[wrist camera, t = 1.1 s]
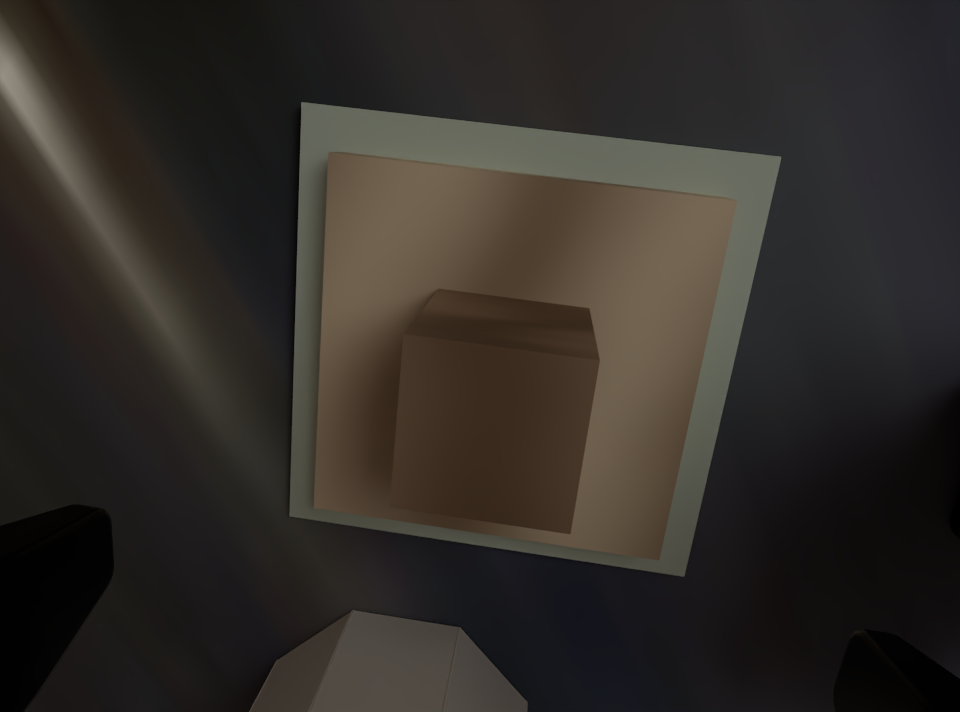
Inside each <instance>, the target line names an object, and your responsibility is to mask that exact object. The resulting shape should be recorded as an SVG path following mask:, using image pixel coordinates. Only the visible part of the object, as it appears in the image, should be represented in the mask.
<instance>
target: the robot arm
mask: <svg viewBox="0 0 960 712" xmlns="http://www.w3.org/2000/svg"><path fill="white" fill-rule="evenodd" d="M950 527H951V530H952V532H953V533H954V534H955V535H956V536H957V537H958V538H959V539H960V493H959V496H958V499H957V501H956V504H955V507H954V510H953V513H952V515H951V518H950ZM113 570H114V556H113V540H112V523H111V517H110V515H109V513H108V512H107V511H106V510H104V509H102V508H96V507H90V506H84V505H78V504H77V505H69V506H65V507H62V508H59V509H55V510H52V511H49V512H45V513H42V514H39V515H35V516H32V517H29V518H25V519H22V520H19V521H15V522H12V523H9V524H5V525H2V526H0V712H25V710H26V709H27V708H28V706H29V705H30V704H31V702H32V701H33V700H34V698H35V697H36V696H37V694H38V693H39V691H40V690H41V688H42V687H43V686H44V684H45V683H46V681H47V680H48V678H49V677H50V675H51V674H52V672H53V671H54V669H55V668H56V666H57V665H58V663H59V661H60V660H61V658H62V657H63V655H64V654H65V652H66V651H67V649H68V648H69V646H70V645H71V643H72V641H73V640H74V638H75V637H76V635H77V634H78V632H79V631H80V629H81V628H82V626H83V625H84V623H85V621H86V620H87V618H88V617H89V615H90V614H91V612H92V611H93V609H94V608H95V606H96V605H97V603H98V601H99V600H100V598H101V597H102V595H103V594H104V592H105V591H106V589H107V587H108V586H109V583H110V581H111V579H112V575H113ZM834 707H835V711H836V712H960V679H959V678H958V677H956V676H955V675H953V674H952V673H950V672H949V671H947V670H946V669H945V668H943V667H942V666H940V665H939V664H937V663H936V662H934V661H933V660H932V659H930V658H929V657H927V656H926V655H924V654H923V653H922V652H920V651H919V650H917V649H916V648H914V647H913V646H911V645H910V644H909V643H907V642H906V641H904V640H903V639H901V638H900V637H898V636H897V635H894V634H891V633H886V632H879V631H873V630H866V629H859V630H857V631H855V632H854V633H853V634H852V635H851V637H850V640H849V642H848V645H847V648H846V651H845V654H844V657H843V661H842V664H841V667H840V670H839V673H838V676H837V679H836V682H835V686H834Z"/></svg>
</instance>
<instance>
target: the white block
mask: <svg viewBox="0 0 960 712" xmlns="http://www.w3.org/2000/svg"><path fill="white" fill-rule="evenodd" d="M527 709H528V702H527V701H526V700H525V699H524V698H523V697H522V696H521V695H520V693H519V692H518V691H517V690H516V689H515V688H514V687H513V686H512V685H511V683H510V682H509V681H508V680H507V679H506V678H505V677H504V676H503V675H502V673H501V672H500V671H499V670H498V669H497V668H496V667H495V666H494V665H493V663H492V662H491V661H490V660H489V659H488V658H487V657H486V656H485V655H484V653H483V652H482V651H481V650H480V649H479V648H478V647H477V646H476V645H475V643H474V642H473V641H472V640H471V639H470V638H469V637H468V636H467V635H466V633H465V632H464V631H463V630H462V629H461V627H455V626H448V625H442V624H436V623H430V622H423V621H417V620H411V619H405V618H399V617H392V616H386V615H380V614H374V613H367V612H361V611H355V610H352V611H351V612H349V613H348V614H346V615H345V616H343V617H342V618H340V619H339V620H337V621H336V622H334V623H333V624H331V625H330V626H328V627H327V628H325V629H324V630H322V631H321V632H319V633H318V634H316V635H315V636H313V637H312V638H310V639H309V640H307V641H305V642H304V643H302V644H301V645H299V646H298V647H296V648H295V649H293V650H292V651H290V652H289V653H287V654H286V655H284V656H283V657H281V658H280V659H277V660H276V662H275V664H274V666H273V668H272V670H271V671H270V673H269V675H268V677H267V679H266V681H265V683H264V685H263V686H262V688H261V690H260V692H259V694H258V696H257V698H256V700H255V701H254V703H253V705H252V707H251V709H250V711H249V712H527Z"/></svg>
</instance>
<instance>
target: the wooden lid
mask: <svg viewBox="0 0 960 712" xmlns="http://www.w3.org/2000/svg"><path fill="white" fill-rule="evenodd" d="M736 204H737V200H734V199H731V198H728V197H721V196H713V195H705V194H696V193H688V192H679V191H671V190H662V189H654V188H645V187H637V186H628V185H620V184H611V183H603V182H594V181H586V180H577V179H569V178H560V177H552V176H543V175H535V174H527V173H518V172H510V171H501V170H493V169H484V168H476V167H467V166H459V165H450V164H442V163H433V162H425V161H416V160H408V159H399V158H391V157H382V156H374V155H365V154H357V153H348V152H328V174H327V198H326V222H325V247H324V271H323V295H322V319H321V344H320V368H319V392H318V416H317V441H316V465H315V489H314V508H317V509H323V510H330V511H336V512H343V513H350V514H356V515H363V516H369V517H376V518H383V519H389V520H396V521H402V522H409V523H416V524H422V525H429V526H435V527H442V528H448V529H455V530H462V531H468V532H475V533H481V534H488V535H495V536H501V537H508V538H514V539H521V540H528V541H534V542H541V543H547V544H554V545H560V546H567V547H574V548H580V549H587V550H593V551H600V552H607V553H613V554H620V555H626V556H633V557H639V558H646V559H653V560H659V559H660V555H661V550H662V546H663V541H664V536H665V532H666V527H667V522H668V518H669V513H670V509H671V504H672V499H673V495H674V490H675V486H676V481H677V476H678V472H679V467H680V463H681V458H682V453H683V449H684V444H685V440H686V435H687V430H688V426H689V421H690V416H691V412H692V407H693V403H694V398H695V393H696V389H697V384H698V380H699V375H700V370H701V366H702V361H703V357H704V352H705V347H706V343H707V338H708V334H709V329H710V324H711V320H712V315H713V310H714V306H715V301H716V297H717V292H718V287H719V283H720V278H721V274H722V269H723V264H724V260H725V255H726V251H727V246H728V241H729V237H730V232H731V227H732V223H733V218H734V214H735V209H736Z"/></svg>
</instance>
